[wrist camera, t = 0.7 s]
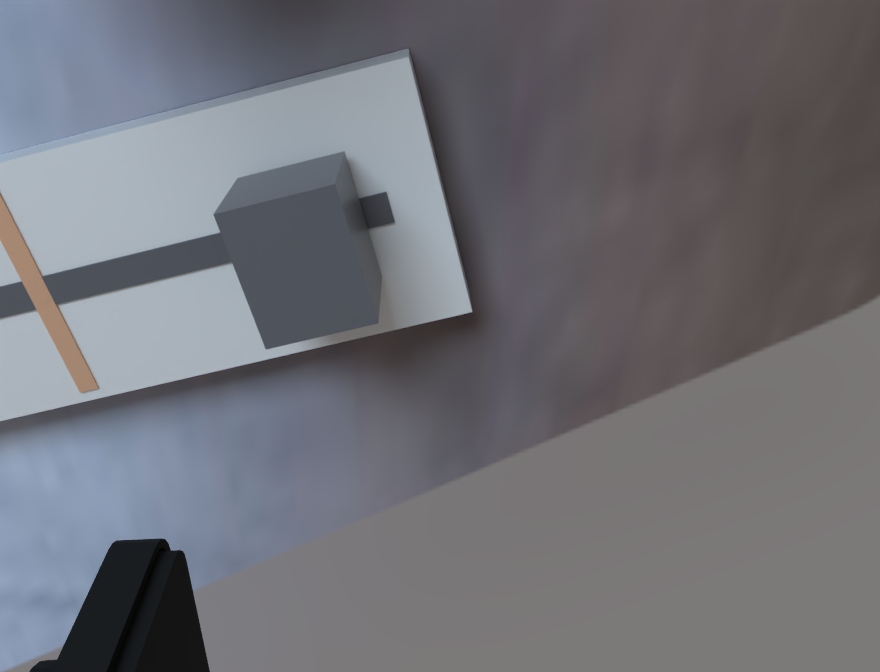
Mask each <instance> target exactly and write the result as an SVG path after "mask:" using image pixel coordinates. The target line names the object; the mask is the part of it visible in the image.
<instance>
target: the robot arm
mask: <svg viewBox="0 0 880 672" xmlns="http://www.w3.org/2000/svg"><path fill="white" fill-rule="evenodd" d="M30 672H210V671H209V666H208V662H207V657H206V652H205V647H204V642H203V638H202V633H201V628H200V623H199V619H198V614H197V610H196V605H195V600H194V595H193V590H192V585H191V580H190V576H189V571H188V566H187V561H186V558H185V554H184V553H183V551H180V550H177V551H171V550H170V547H169V544H168V542H167V541H166V540H165V539H143V540H120V541H115V542H114V543H112V545H111V547H110V548H109V550H108V552H107V554H106V556H105V558H104V561H103V563H102V565H101V567H100V569H99V571H98V573H97V576H96V578H95V580H94V582H93V584H92V586H91V588H90V591H89V593H88V595H87V597H86V599H85V601H84V603H83V606H82V608H81V610H80V612H79V614H78V616H77V618H76V621H75V623H74V625H73V627H72V629H71V631H70V633H69V636H68V638H67V640H66V642H65V644H64V646H63V648H62V651H61V653H60V655H59V657H58V659H57V660H47V661H40V662H39V663H37V664H36V665H35V666H34V667H33V668H32V669H31V670H30Z"/></svg>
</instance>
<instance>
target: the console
mask: <svg viewBox="0 0 880 672" xmlns="http://www.w3.org/2000/svg"><path fill="white" fill-rule="evenodd" d="M343 151H345V154H346V158H347V161H348V164H349V168H350V171H351V174H352V178H353V181H354V184H355V188H356V191H357V194H358V198H359V201H360V204H361V208H362V211H363V214H364V218H365V221H366V224H367V228H368V231H369V234H370V238H371V241H372V244H373V248H374V251H375V254H376V258H377V261H378V264H379V268H380V271H381V274H382V287H381V299H380V311H379V322H378V324H374V325H370V326H365V327H361V328H357V329H353V330H348V331H344V332H340V333H335V334H331V335H327V336H322V337H318V338H314V339H310V340H305V341H301V342H297V343H292V344H288V345H284V346H279V347H275V348H271V349H265V346H264V344H263V341H262V339H261V336H260V333H259V331H258V328H257V326H256V323H255V320H254V318H253V315H252V313H251V310H250V308H249V305H248V302H247V300H246V297H245V295H244V292H243V290H242V287H241V284H240V282H239V279H238V277H237V274H236V272H235V269H234V266H233V264H232V261H231V259H230V256H229V254H228V251H227V248H226V246H225V243H224V241H223V238H222V236H221V233H220V230H219V228H218V225H217V223H216V220H215V217H214V215H213V214H214V213H215V211H216V210H217V208H218V206H219V205H220V203H221V202H222V200H223V199H224V197H225V196H226V194H227V193H228V191H229V190H230V188H231V187H232V185H233V184H234V182H235V181H236V179H237V178H240V177H244V176H248V175H252V174H256V173H260V172H264V171H268V170H272V169H276V168H280V167H284V166H288V165H292V164H295V163H299V162H303V161H307V160H311V159H315V158H319V157H323V156H327V155H331V154H335V153H339V152H343ZM470 312H472V306H471V299H470V293H469V288H468V284H467V280H466V276H465V272H464V268H463V264H462V260H461V256H460V252H459V248H458V244H457V240H456V236H455V232H454V228H453V224H452V220H451V216H450V212H449V208H448V204H447V200H446V196H445V192H444V188H443V184H442V179H441V175H440V171H439V167H438V163H437V159H436V155H435V151H434V147H433V143H432V139H431V135H430V131H429V127H428V123H427V119H426V115H425V111H424V107H423V103H422V99H421V95H420V91H419V87H418V83H417V79H416V75H415V71H414V67H413V63H412V59H411V55H410V51H409V48H408V49H404V50H400V51H396V52H393V53H389V54H385V55H381V56H377V57H373V58H369V59H366V60H362V61H358V62H354V63H350V64H346V65H343V66H339V67H335V68H331V69H327V70H323V71H319V72H316V73H312V74H308V75H304V76H300V77H296V78H293V79H289V80H285V81H281V82H277V83H273V84H269V85H266V86H262V87H258V88H254V89H250V90H246V91H243V92H239V93H235V94H231V95H227V96H223V97H220V98H216V99H212V100H208V101H204V102H200V103H196V104H193V105H189V106H185V107H181V108H177V109H173V110H170V111H166V112H162V113H158V114H154V115H150V116H146V117H143V118H139V119H135V120H131V121H127V122H123V123H120V124H116V125H112V126H108V127H104V128H100V129H97V130H93V131H89V132H85V133H81V134H77V135H73V136H70V137H66V138H62V139H58V140H54V141H50V142H47V143H43V144H39V145H35V146H31V147H27V148H23V149H20V150H16V151H12V152H8V153H4V154H0V421H4V420H8V419H12V418H17V417H21V416H25V415H30V414H34V413H38V412H42V411H47V410H51V409H55V408H60V407H64V406H68V405H73V404H77V403H81V402H86V401H90V400H94V399H99V398H103V397H107V396H112V395H116V394H120V393H125V392H129V391H133V390H138V389H142V388H146V387H151V386H155V385H159V384H164V383H168V382H172V381H177V380H181V379H185V378H189V377H194V376H198V375H202V374H207V373H211V372H215V371H220V370H224V369H228V368H233V367H237V366H241V365H246V364H250V363H254V362H259V361H263V360H267V359H272V358H276V357H280V356H285V355H289V354H293V353H298V352H302V351H306V350H311V349H315V348H319V347H324V346H328V345H332V344H336V343H341V342H345V341H349V340H354V339H358V338H362V337H367V336H371V335H375V334H380V333H384V332H388V331H393V330H397V329H401V328H406V327H410V326H414V325H419V324H423V323H427V322H432V321H436V320H440V319H445V318H449V317H453V316H458V315H462V314H466V313H470Z"/></svg>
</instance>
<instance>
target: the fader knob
mask: <svg viewBox="0 0 880 672" xmlns="http://www.w3.org/2000/svg"><path fill="white" fill-rule="evenodd" d="M213 215H214V217H215V220H216V223H217V225H218V228H219V230H220V233H221V236H222V238H223V241H224V243H225V246H226V248H227V251H228V254H229V256H230V259H231V261H232V264H233V266H234V269H235V272H236V274H237V277H238V279H239V282H240V284H241V287H242V290H243V292H244V295H245V297H246V300H247V302H248V305H249V308H250V310H251V313H252V315H253V318H254V320H255V323H256V326H257V328H258V331H259V333H260V336H261V339H262V341H263V344H264V346H265V349H271V348H275V347H279V346H284V345H288V344H292V343H297V342H301V341H305V340H310V339H314V338H318V337H322V336H327V335H331V334H335V333H340V332H344V331H348V330H353V329H357V328H361V327H365V326H370V325H374V324H378V322H379V311H380V299H381V287H382V274H381V271H380V268H379V264H378V261H377V258H376V254H375V251H374V248H373V244H372V241H371V238H370V234H369V231H368V228H367V224H366V221H365V218H364V214H363V211H362V208H361V204H360V201H359V198H358V194H357V191H356V188H355V184H354V181H353V178H352V174H351V171H350V168H349V164H348V161H347V158H346V154H345V151H343V152H339V153H335V154H331V155H327V156H323V157H319V158H315V159H311V160H307V161H303V162H299V163H295V164H292V165H288V166H284V167H280V168H276V169H272V170H268V171H264V172H260V173H256V174H252V175H248V176H244V177H240V178H237V179H236V181H235V182H234V184H233V185H232V187H231V188H230V190H229V191H228V193H227V194H226V196H225V197H224V199H223V200H222V202H221V203H220V205H219V206H218V208H217V210H216V211H215V213H214V214H213Z"/></svg>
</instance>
